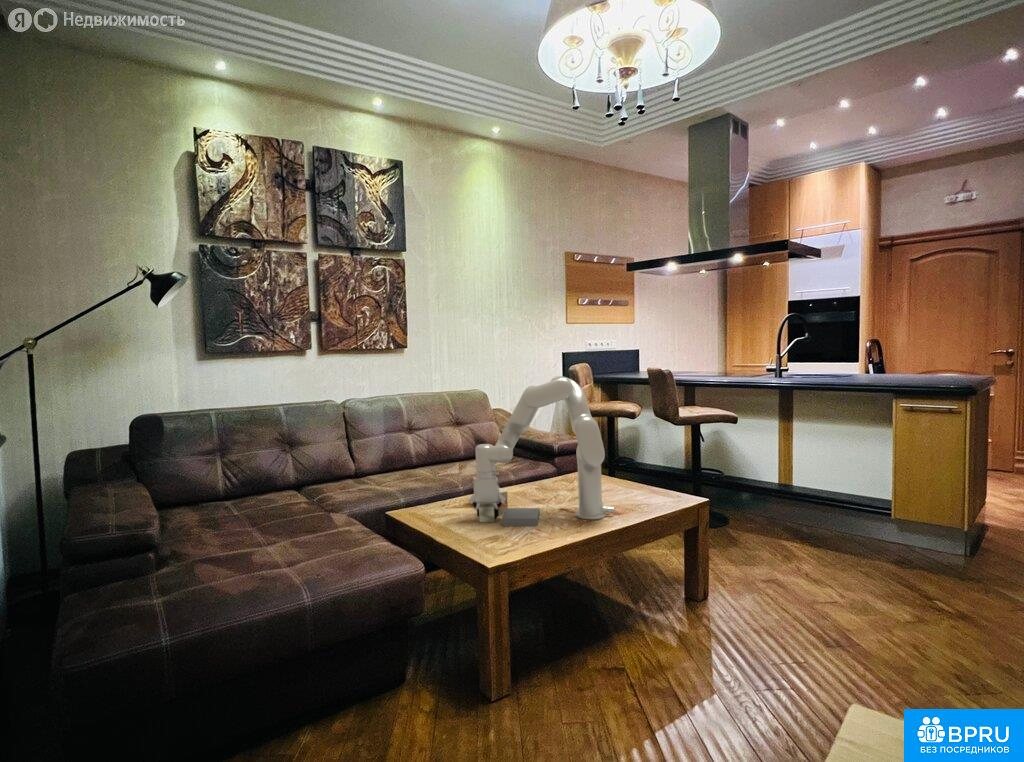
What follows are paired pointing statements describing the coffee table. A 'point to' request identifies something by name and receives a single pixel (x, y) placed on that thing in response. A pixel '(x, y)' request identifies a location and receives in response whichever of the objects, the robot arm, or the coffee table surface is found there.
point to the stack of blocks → (504, 493)
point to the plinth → (521, 517)
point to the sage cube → (486, 512)
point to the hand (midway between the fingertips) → (488, 517)
